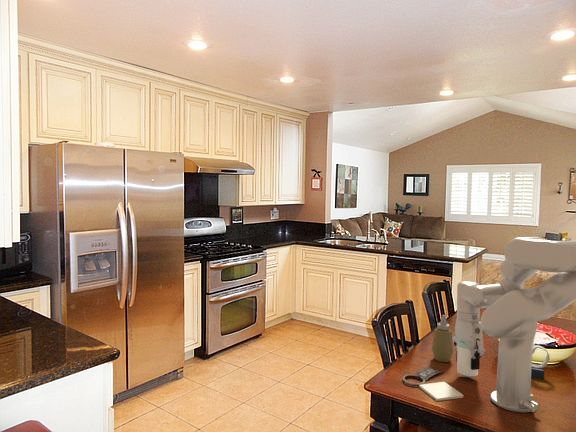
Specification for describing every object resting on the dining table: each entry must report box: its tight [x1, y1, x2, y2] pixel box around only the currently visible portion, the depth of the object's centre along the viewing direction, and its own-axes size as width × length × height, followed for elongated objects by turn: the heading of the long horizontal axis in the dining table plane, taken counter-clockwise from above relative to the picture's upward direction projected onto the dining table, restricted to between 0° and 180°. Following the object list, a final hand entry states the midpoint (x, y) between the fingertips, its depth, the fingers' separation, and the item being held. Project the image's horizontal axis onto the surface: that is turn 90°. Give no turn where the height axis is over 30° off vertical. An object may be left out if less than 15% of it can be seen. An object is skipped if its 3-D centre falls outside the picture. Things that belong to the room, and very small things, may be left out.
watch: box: [531, 344, 551, 380], centre depth 156 cm, size 6×8×11 cm
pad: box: [418, 381, 464, 402], centre depth 142 cm, size 10×10×1 cm
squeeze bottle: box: [431, 314, 454, 363], centre depth 169 cm, size 8×8×18 cm
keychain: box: [402, 366, 444, 388], centre depth 152 cm, size 8×19×2 cm, turn 130°
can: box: [456, 340, 479, 378], centre depth 152 cm, size 7×7×12 cm
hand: (467, 364), depth 152 cm, fingers closed on can, 7 cm apart
